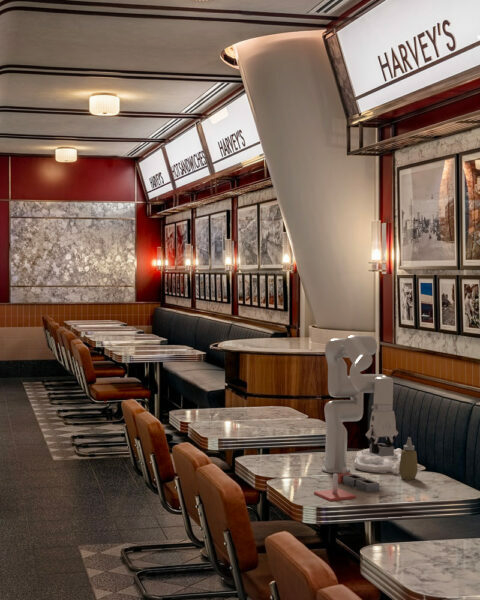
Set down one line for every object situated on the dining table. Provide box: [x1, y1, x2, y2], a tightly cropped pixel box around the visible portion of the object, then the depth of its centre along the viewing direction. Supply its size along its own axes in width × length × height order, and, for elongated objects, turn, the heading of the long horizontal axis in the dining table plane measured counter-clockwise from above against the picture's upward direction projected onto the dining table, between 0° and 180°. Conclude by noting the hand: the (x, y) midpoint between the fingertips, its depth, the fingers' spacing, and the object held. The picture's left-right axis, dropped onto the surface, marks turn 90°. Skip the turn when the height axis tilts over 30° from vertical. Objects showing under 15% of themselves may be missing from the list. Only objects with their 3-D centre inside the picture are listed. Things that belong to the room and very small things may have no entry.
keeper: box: [313, 473, 357, 502], centre depth 351 cm, size 12×12×9 cm
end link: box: [369, 442, 395, 457], centre depth 353 cm, size 8×6×4 cm
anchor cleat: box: [336, 466, 353, 484], centre depth 376 cm, size 4×7×6 cm, turn 118°
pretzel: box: [352, 447, 403, 475], centre depth 405 cm, size 28×24×6 cm
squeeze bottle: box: [399, 436, 419, 481], centre depth 384 cm, size 8×8×18 cm
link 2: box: [355, 478, 380, 494], centre depth 362 cm, size 8×6×4 cm
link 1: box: [342, 473, 367, 489], centre depth 370 cm, size 8×6×4 cm
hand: (381, 452), depth 353 cm, fingers closed on end link, 6 cm apart
